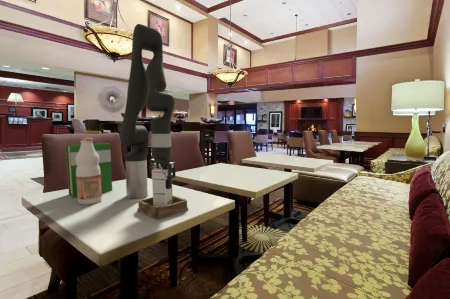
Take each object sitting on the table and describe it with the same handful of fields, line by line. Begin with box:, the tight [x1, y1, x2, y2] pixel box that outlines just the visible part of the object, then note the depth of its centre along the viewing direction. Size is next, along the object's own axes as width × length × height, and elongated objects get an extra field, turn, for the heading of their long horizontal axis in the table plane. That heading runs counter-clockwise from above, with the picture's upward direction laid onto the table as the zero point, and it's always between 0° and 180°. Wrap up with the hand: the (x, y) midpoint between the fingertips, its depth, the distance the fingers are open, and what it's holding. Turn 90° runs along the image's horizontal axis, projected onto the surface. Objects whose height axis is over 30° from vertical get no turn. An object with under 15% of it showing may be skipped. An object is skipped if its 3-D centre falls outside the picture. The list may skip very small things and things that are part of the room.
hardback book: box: [65, 142, 113, 199], centre depth 123 cm, size 18×7×24 cm, turn 135°
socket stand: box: [137, 194, 189, 221], centre depth 99 cm, size 14×14×4 cm
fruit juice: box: [75, 137, 103, 205], centre depth 108 cm, size 9×9×28 cm
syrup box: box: [151, 168, 173, 207], centre depth 98 cm, size 6×6×14 cm
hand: (162, 187), depth 98 cm, fingers closed on syrup box, 7 cm apart
